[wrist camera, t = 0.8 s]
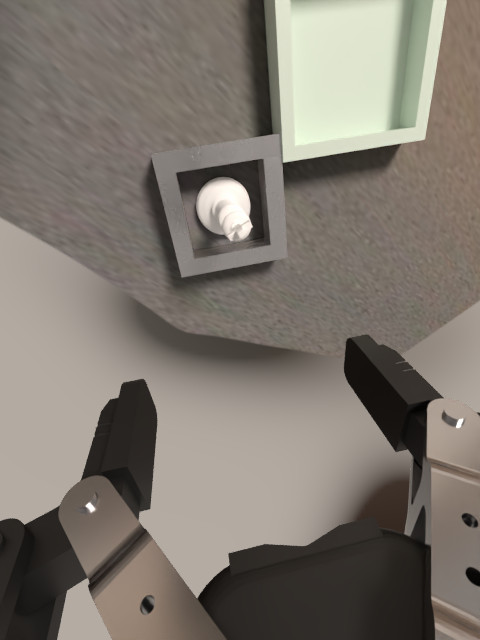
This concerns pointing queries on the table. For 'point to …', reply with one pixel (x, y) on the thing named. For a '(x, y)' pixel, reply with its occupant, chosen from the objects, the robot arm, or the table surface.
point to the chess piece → (225, 208)
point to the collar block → (271, 194)
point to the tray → (350, 72)
